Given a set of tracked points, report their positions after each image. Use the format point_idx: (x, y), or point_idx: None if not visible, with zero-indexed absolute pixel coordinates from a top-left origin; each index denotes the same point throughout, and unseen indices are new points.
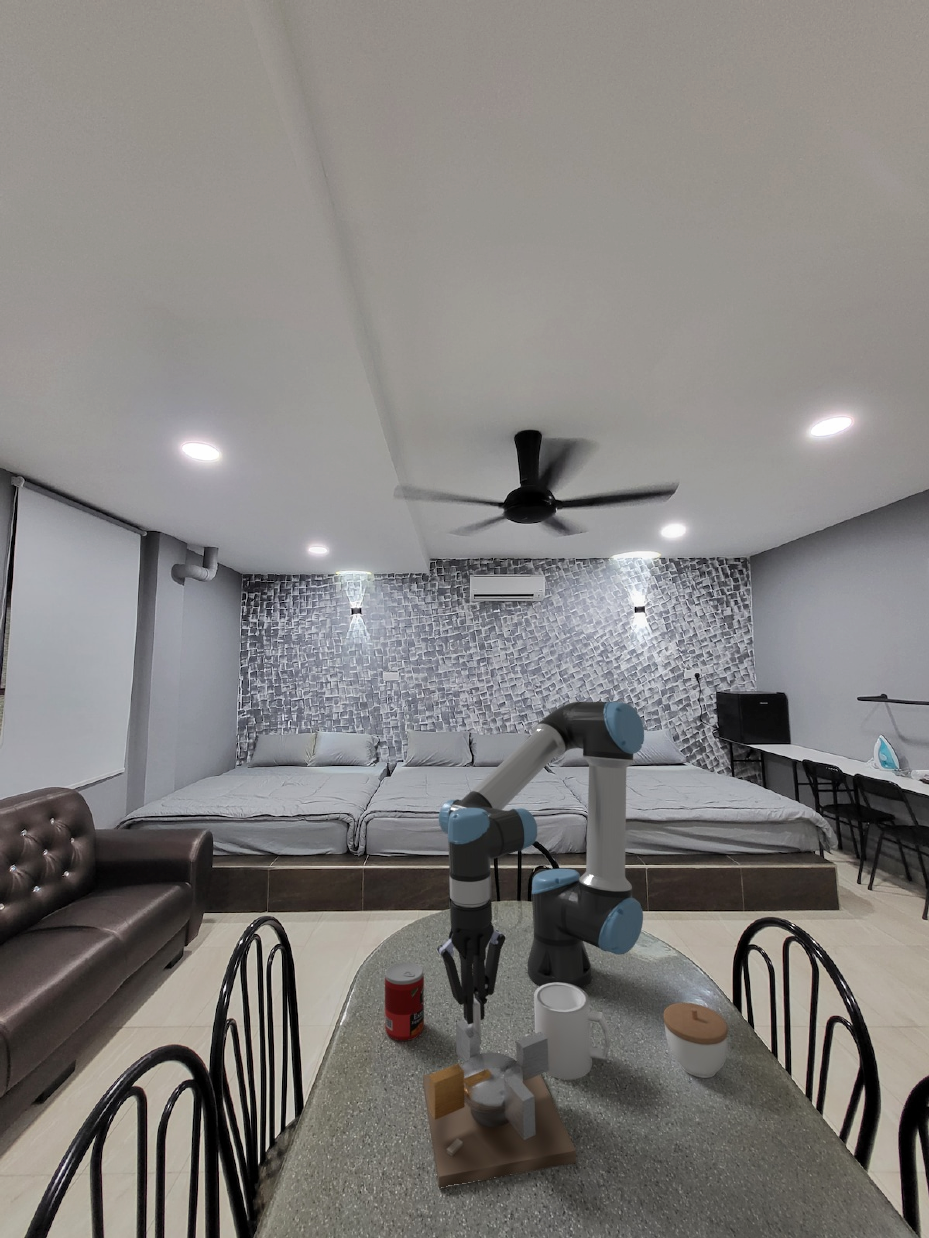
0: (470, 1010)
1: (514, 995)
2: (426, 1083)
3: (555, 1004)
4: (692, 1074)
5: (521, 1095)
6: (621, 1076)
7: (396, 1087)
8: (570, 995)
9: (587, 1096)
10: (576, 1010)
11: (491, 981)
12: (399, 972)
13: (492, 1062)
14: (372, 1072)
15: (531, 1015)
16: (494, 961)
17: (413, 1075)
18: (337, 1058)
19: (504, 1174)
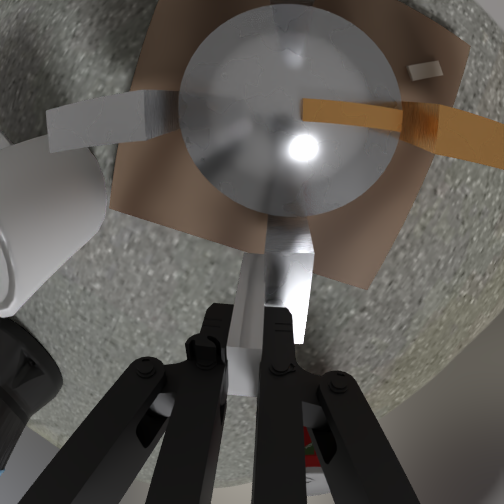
0: (275, 342)
1: (91, 366)
2: (375, 265)
3: (6, 271)
4: None
5: None
6: (5, 110)
7: (404, 296)
8: None
9: (68, 80)
10: None
11: (125, 409)
12: (314, 484)
13: (258, 154)
14: (410, 342)
15: (75, 318)
16: (65, 493)
17: (362, 307)
18: (424, 381)
19: None
